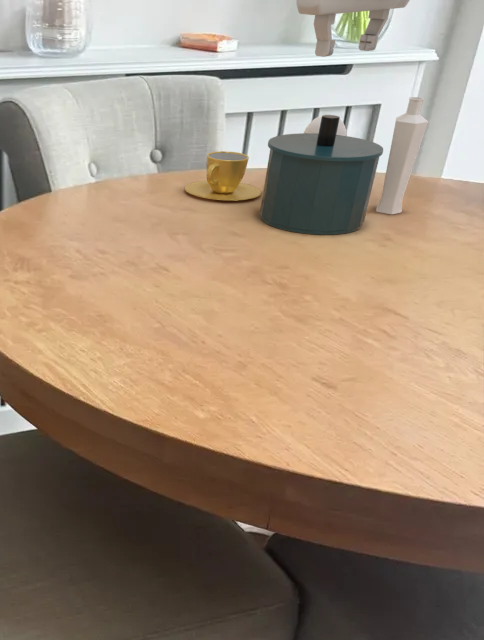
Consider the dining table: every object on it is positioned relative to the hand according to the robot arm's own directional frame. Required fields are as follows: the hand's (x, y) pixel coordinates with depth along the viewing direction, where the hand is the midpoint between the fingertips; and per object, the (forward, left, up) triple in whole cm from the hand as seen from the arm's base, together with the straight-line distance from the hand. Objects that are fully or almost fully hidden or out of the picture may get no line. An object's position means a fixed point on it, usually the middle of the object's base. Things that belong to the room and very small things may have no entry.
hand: (345, 53), depth 115 cm
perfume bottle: (-4, -14, -21) cm, 26 cm away
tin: (0, 0, -21) cm, 21 cm away
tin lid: (0, 0, -11) cm, 11 cm away
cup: (+18, -1, -21) cm, 28 cm away
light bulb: (+10, -14, -21) cm, 27 cm away
